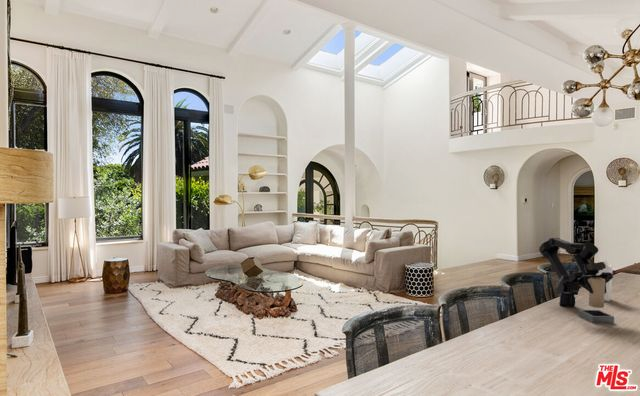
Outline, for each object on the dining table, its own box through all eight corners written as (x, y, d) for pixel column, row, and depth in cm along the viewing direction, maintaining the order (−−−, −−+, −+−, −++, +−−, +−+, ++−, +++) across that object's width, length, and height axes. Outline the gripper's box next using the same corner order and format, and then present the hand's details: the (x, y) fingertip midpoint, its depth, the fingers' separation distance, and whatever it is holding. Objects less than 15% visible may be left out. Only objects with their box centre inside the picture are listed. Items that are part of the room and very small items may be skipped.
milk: (611, 299, 229) (613, 260, 229) (608, 301, 225) (610, 261, 224) (598, 297, 234) (600, 258, 233) (595, 298, 230) (597, 260, 229)
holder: (578, 315, 199) (578, 309, 198) (598, 316, 199) (598, 310, 199) (592, 322, 189) (593, 316, 188) (613, 323, 189) (614, 316, 189)
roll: (589, 306, 192) (590, 279, 192) (587, 303, 198) (589, 276, 197) (605, 308, 190) (606, 280, 189) (602, 305, 195) (604, 278, 194)
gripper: (573, 255, 196) (588, 283, 186) (611, 255, 197) (628, 284, 186) (562, 268, 204) (576, 296, 194) (599, 268, 205) (614, 296, 194)
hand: (598, 293), depth 192 cm, fingers closed on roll, 6 cm apart
